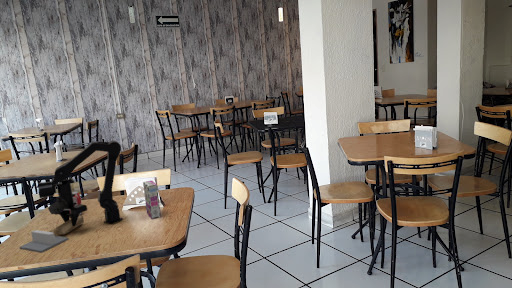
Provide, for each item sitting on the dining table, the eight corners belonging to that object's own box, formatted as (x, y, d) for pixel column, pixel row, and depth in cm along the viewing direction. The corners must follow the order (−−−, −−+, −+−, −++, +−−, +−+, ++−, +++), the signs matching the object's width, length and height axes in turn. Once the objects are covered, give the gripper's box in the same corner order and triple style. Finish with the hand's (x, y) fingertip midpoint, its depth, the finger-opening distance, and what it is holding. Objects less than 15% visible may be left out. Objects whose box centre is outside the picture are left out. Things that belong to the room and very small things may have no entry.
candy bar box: (161, 217, 191) (157, 184, 188) (151, 219, 189) (147, 186, 186) (156, 210, 201) (152, 179, 198) (146, 212, 198) (142, 181, 195)
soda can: (86, 212, 206) (82, 191, 204) (76, 217, 200) (72, 195, 197) (75, 212, 208) (71, 190, 206) (65, 217, 202) (61, 195, 200)
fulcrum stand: (68, 239, 172) (66, 227, 171) (42, 252, 161) (39, 240, 160) (47, 236, 178) (44, 224, 177) (19, 248, 166) (17, 236, 165)
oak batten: (84, 222, 189) (82, 215, 188) (64, 234, 176) (63, 227, 175) (77, 222, 190) (76, 215, 189) (57, 234, 176) (56, 227, 176)
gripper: (35, 197, 177) (41, 230, 179) (64, 200, 169) (70, 234, 171) (57, 190, 186) (62, 221, 189) (85, 192, 179) (90, 224, 181)
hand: (71, 225), depth 183 cm, fingers closed on oak batten, 4 cm apart
